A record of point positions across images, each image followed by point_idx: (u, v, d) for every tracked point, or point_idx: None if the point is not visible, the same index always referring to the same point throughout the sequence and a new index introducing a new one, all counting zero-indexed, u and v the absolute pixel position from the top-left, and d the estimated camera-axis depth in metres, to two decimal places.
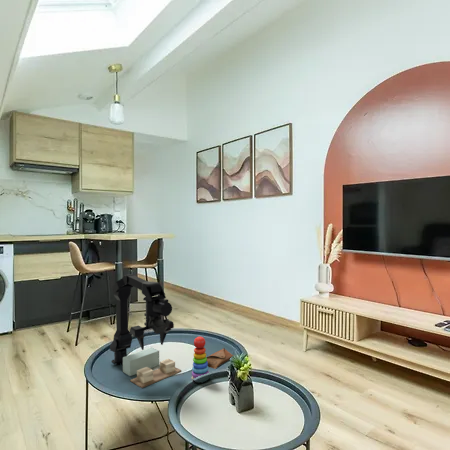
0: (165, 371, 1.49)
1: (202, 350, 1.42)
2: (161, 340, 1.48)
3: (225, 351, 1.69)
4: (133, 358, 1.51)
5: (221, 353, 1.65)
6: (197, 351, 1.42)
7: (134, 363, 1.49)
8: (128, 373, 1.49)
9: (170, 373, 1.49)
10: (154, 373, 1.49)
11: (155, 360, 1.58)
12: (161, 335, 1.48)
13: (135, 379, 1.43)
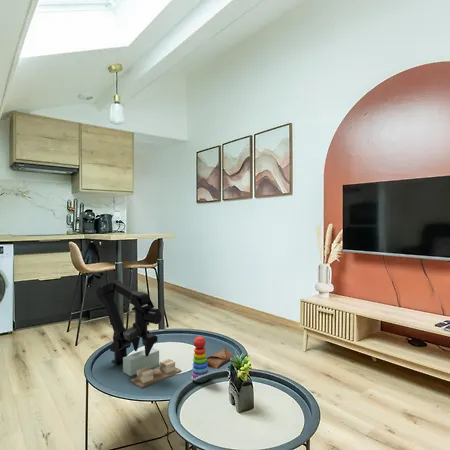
0: (165, 371, 1.49)
1: (202, 350, 1.42)
2: None
3: (226, 351, 1.69)
4: (133, 358, 1.51)
5: (222, 353, 1.65)
6: (197, 351, 1.42)
7: (134, 363, 1.49)
8: (128, 373, 1.49)
9: (170, 373, 1.49)
10: (154, 373, 1.49)
11: (155, 360, 1.58)
12: None
13: (135, 379, 1.43)
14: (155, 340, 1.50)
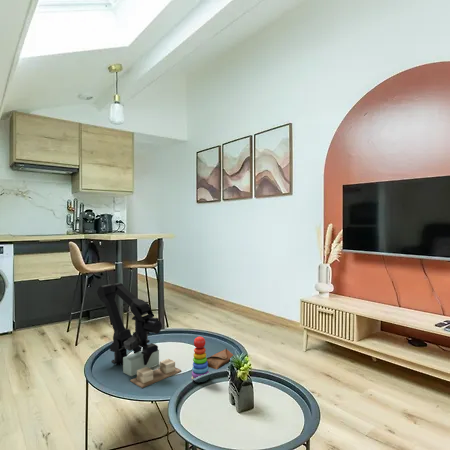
0: (165, 371, 1.49)
1: (202, 350, 1.42)
2: None
3: (227, 352, 1.68)
4: (134, 358, 1.50)
5: (223, 354, 1.64)
6: (197, 351, 1.42)
7: (135, 363, 1.49)
8: (129, 373, 1.48)
9: (170, 373, 1.49)
10: (154, 373, 1.49)
11: (155, 360, 1.58)
12: None
13: (135, 379, 1.43)
14: (155, 349, 1.50)
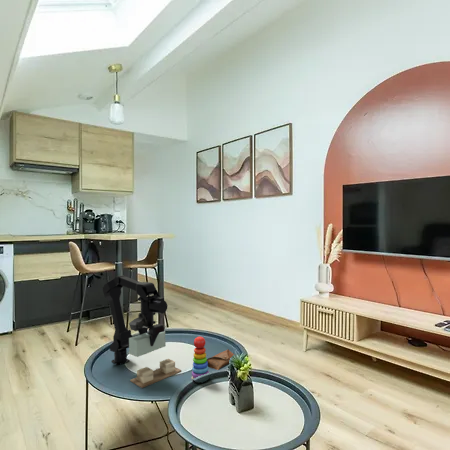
0: (165, 371, 1.49)
1: (202, 350, 1.42)
2: None
3: (229, 352, 1.67)
4: (140, 338, 1.47)
5: (224, 354, 1.64)
6: (197, 351, 1.42)
7: (141, 344, 1.46)
8: (135, 354, 1.45)
9: (170, 373, 1.49)
10: (154, 373, 1.49)
11: (161, 341, 1.55)
12: None
13: (135, 379, 1.43)
14: (162, 330, 1.47)
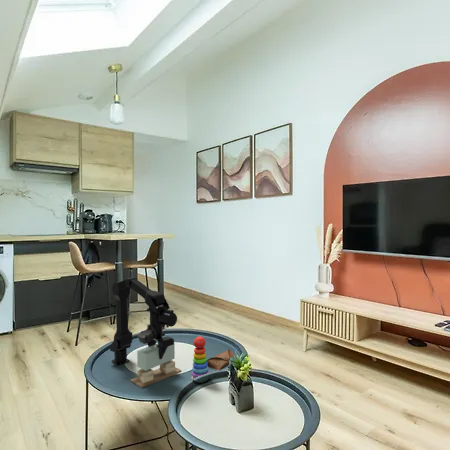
0: (165, 371, 1.49)
1: (202, 350, 1.42)
2: None
3: (230, 353, 1.67)
4: (149, 351, 1.42)
5: (225, 355, 1.63)
6: (197, 351, 1.42)
7: (150, 357, 1.41)
8: (144, 367, 1.40)
9: (170, 373, 1.49)
10: (154, 373, 1.49)
11: (170, 354, 1.50)
12: None
13: (135, 379, 1.43)
14: (171, 343, 1.42)
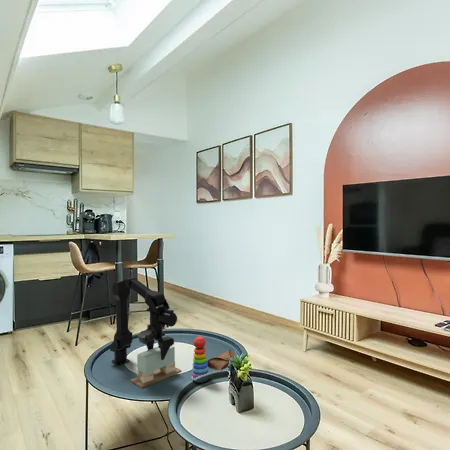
0: (165, 371, 1.49)
1: (202, 350, 1.42)
2: None
3: (231, 353, 1.67)
4: (149, 355, 1.42)
5: (226, 355, 1.63)
6: (197, 351, 1.42)
7: (150, 360, 1.41)
8: (144, 370, 1.40)
9: (170, 373, 1.49)
10: (154, 373, 1.49)
11: (170, 357, 1.50)
12: None
13: (135, 379, 1.43)
14: (171, 343, 1.42)
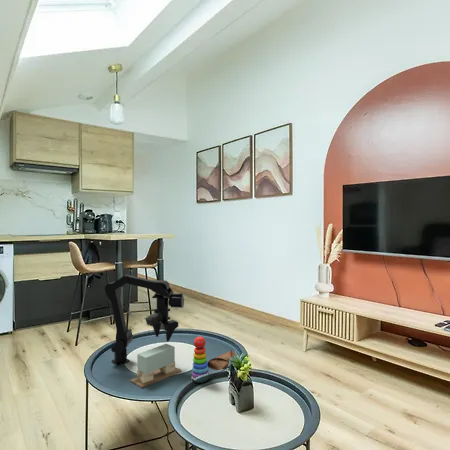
0: (165, 371, 1.49)
1: (202, 350, 1.42)
2: None
3: (232, 353, 1.66)
4: (149, 355, 1.42)
5: (227, 355, 1.62)
6: (197, 351, 1.42)
7: (150, 360, 1.41)
8: (144, 370, 1.40)
9: (170, 373, 1.49)
10: (154, 373, 1.49)
11: (170, 357, 1.50)
12: None
13: (135, 379, 1.43)
14: (176, 325, 1.55)
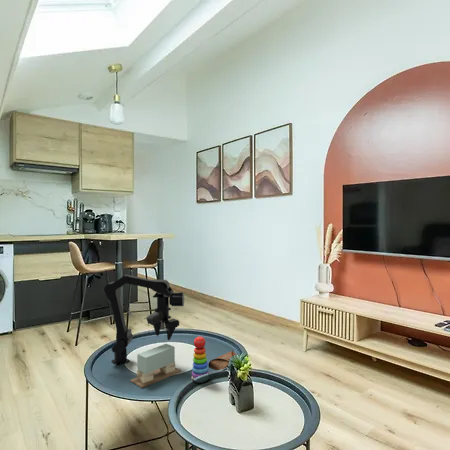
0: (165, 371, 1.49)
1: (202, 350, 1.42)
2: None
3: (233, 354, 1.66)
4: (149, 355, 1.42)
5: (228, 356, 1.62)
6: (197, 351, 1.42)
7: (150, 360, 1.41)
8: (144, 370, 1.40)
9: (170, 373, 1.49)
10: (154, 373, 1.49)
11: (170, 357, 1.50)
12: None
13: (135, 379, 1.43)
14: (177, 324, 1.57)
